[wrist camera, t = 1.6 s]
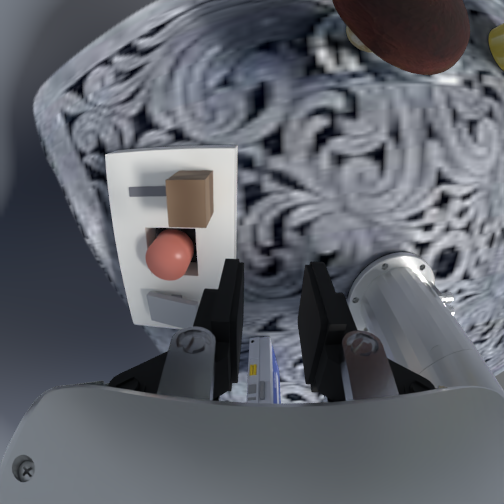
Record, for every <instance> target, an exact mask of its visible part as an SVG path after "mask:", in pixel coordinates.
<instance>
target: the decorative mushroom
mask: <svg viewBox="0 0 504 504" xmlns="http://www.w3.org/2000/svg"><path fill="white" fill-rule="evenodd" d="M332 1H333V4H334V6H335V9H336V10H337V12H338V14H339V15H340V17H341V18H342V20H343V21H344V23H345V24H346V25H347V26H346V33H347V37H348V39H349V41H350V42H351V43H352V44H353V45H354V46H355V47H357V48H358V49H360V50H363V51H366V52H373V53H374V54H376V55H377V56H378V57H380V58H381V59H383V60H384V61H386V62H388V63H390V64H391V65H393V66H395V67H397V68H400V69H402V70H405V71H408V72H411V73H416V74H422V75H433V74H438V73H441V72H444V71H446V70H448V69H449V68H451V67H452V66H454V65H455V63H456V62H457V61H458V60H459V59H460V57H461V56H462V55H463V53H464V51H465V49H466V46H467V44H468V41H469V36H470V24H469V18H468V14H467V10H466V8H465V5H464V3H463V1H462V0H332Z"/></svg>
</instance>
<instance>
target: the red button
mask: <svg viewBox="0 0 504 504" xmlns="http://www.w3.org/2000/svg"><path fill="white" fill-rule="evenodd" d="M193 255H194V245H193V242H192V240H191V239H190V237H189V236H188V235H187V234H185V233H184V232H182V231H180V230H177V229H167V230H164V231H162V232H161V233H160V234H159V235H158V236H157V238H156V239H155V240H154V241H153V243H152V244H151V245H150V246H149V248H148V249H147V252H146V257H145V258H146V264H147V266H148V268H149V270H150V271H151V272H152V273H153V274H154V275H155V276H157V277H158V278H160V279H163V280H168V281H172V280H177V279H179V278H181V277H182V276H183V275H184V274H185V272H186V270H187V268H188V266H189V264H190V262H191V259H192V257H193Z"/></svg>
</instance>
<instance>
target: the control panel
mask: <svg viewBox="0 0 504 504" xmlns="http://www.w3.org/2000/svg"><path fill="white" fill-rule="evenodd" d="M237 147H238V145H201V146H170V147H152V148H138V149H126V150H117V151H114V152H111V153H108V154H105V161H106V173H107V183H108V192H109V201H110V208H111V216H112V223H113V229H114V235H115V241H116V247H117V253H118V258H119V263H120V268H121V273H122V278H123V282H124V287H125V291H126V295H127V300H128V304H129V308H130V312H131V316H132V319H133V323H134V324H136V325H144V326H153V327H162V328H172V329H183V328H180V327H176V326H172V325H168V324H164V323H160V322H156V321H152V320H151V315H150V311H149V306H148V301H147V296H146V295H147V294H148V293H149V292H150V291H151V292H156V293H160V294H165V295H169V296H174V297H179V298H183V299H188V300H193V301H198V303H199V304H200V301H201V297H202V294H203V291H204V289H205V288H207V289H218V287H219V283H220V279H221V275H222V271H223V266H224V262H225V259H236V235H237ZM178 171H213V203H214V213H213V215H212V217H211V219H210V221H209V223H208V225H207V227H206V228H195V229H196V247H197V262H190V264H189V266H188V268H187V270H186V272H185V274H184V275H183V276H182V277H181V278H179V279H177V280H172V281H168V280H163V279H160V278H158V277H157V276H155V275H154V274H153V273H152V272H151V271H150V270H149V268H148V266H147V264H146V258H145V257H146V252H147V249H148V248H149V246H150V245H151V244H152V243H153V241H154V240H155V239H156V229H155V228H183V227H169V225H168V212H167V198H166V182H165V180H166V179H168V178H169V177H171V176H172V175H173V174H175V173H176V172H178Z"/></svg>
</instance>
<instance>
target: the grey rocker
mask: <svg viewBox="0 0 504 504" xmlns="http://www.w3.org/2000/svg"><path fill="white" fill-rule="evenodd" d="M146 296H147V301H148V306H149V311H150V315H151V320H152V321H156V322H160V323H164V324H168V325H172V326H176V327H180V328H187V327H193V324H194V320H195V317H196V314H197V311H198V307H199V303H198V301H193V300H188V299H183V298H179V297H174V296H169V295H165V294H160V293H156V292H151V291H150V292H149V293H148V294H147V295H146Z"/></svg>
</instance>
